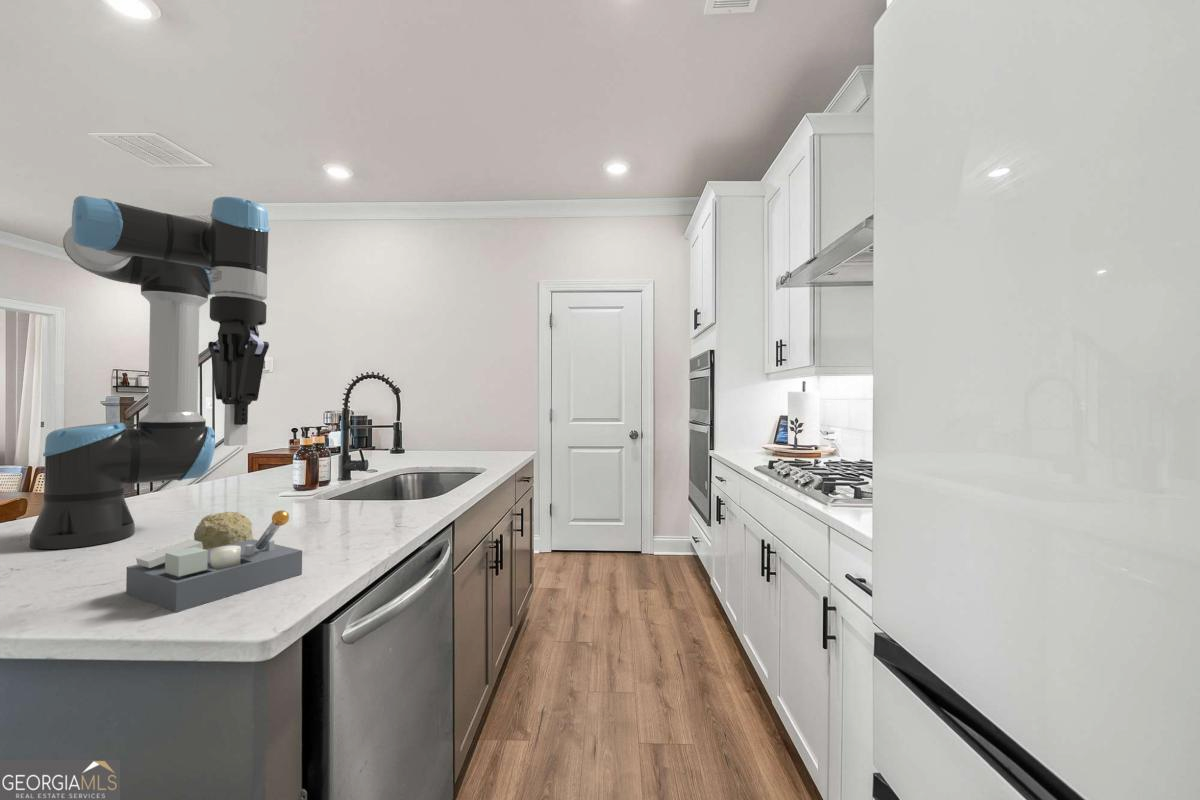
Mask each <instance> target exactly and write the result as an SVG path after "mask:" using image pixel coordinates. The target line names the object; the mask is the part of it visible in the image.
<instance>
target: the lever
mask: <svg viewBox="0 0 1200 800" xmlns="http://www.w3.org/2000/svg"><path fill="white" fill-rule="evenodd" d="M289 520H290V514H289V512H287V511H286V510H278V511H275V512H274V513H273V514H272V515H271V522H270V524H269V526H268V527H267V528H266V529H265V531H264V532H263V533H262V535H261V536H260V537H259V539H257V540H258V542H257V543H256V544H255V547H256V548H257V549H259V550H262V549H264V547H265V546H266V545H267V543H268V542H269V541H270V540H272V538H273V536H274V535H275V533H277V531H278V530H279V529H280V528H281V526H285V525H286V524H287V523H288V522H289Z"/></svg>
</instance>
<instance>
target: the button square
mask: <svg viewBox="0 0 1200 800" xmlns="http://www.w3.org/2000/svg"><path fill="white" fill-rule="evenodd" d="M207 558H208V550H204V549H201V548H197V547H191V548H186V549H182V550H177V551H172V552H168V553H165V573H168V574H172V575H175V576H178V577H179V576H183V575H187V574H191V573H195V572H199V571H203V570H207Z"/></svg>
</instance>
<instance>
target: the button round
mask: <svg viewBox="0 0 1200 800" xmlns="http://www.w3.org/2000/svg"><path fill="white" fill-rule="evenodd" d="M240 561H241V547H240V546H222V547H217V548H214V549H212V550H210V568H212V569H216V570H221V569H225V568H229V567H233V566H236V565H240Z"/></svg>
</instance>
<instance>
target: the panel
mask: <svg viewBox="0 0 1200 800" xmlns="http://www.w3.org/2000/svg"><path fill="white" fill-rule="evenodd" d="M258 540H259V539H254V538H253V539H251V540H247V541H242V542H238V543H233V544H229V545H224V546H240V547H241V561H240V565H236V566H233V567H229V568H225V569H221V570H216V569H212V568H210V550H212V549H214V548H210V549H206V550H208V558H207V570H203V571H199V572H195V573H191V574H187V575H183V576H179V577H178V576H175V575H172V574H168V573H165V563H162V564H159V565H157V566H154V567H151V568H147V567H144V566H141V565H138V564H134V565H129V566H126V575H125V576H126V581H125V582H126V585H125V586H126V587H125V588H126V589H125V590H126V593H125V594H126V595H129V596H131V597H134V598H136V599H139V600H142V601H145V602H148V603H150V604H153V605H155V606H159V607H161V608H164V609H165V610H169V611H172V612H174V613H178V612H181V611H184V610H185V611H186V610H188V609H192V608H194V607H199V606H202V605H205V604H208V603H211V602H214V601H218V600H222V599H225V598H228V597H231V596H235V595H238V594H241V593H244V592H247V591H251V590H254V589H257V588H260V587H264V586H267V585H271V584H273V583H277V582H281V581H284V580H287V579H292V578H294V577H298V576H301V575H303V549H299V548H293V547H288V546H286V545H285V546H284V545H280V544H275V540H274V539H273V540H272V539H270V541H269V542H268V543H267V545H266V546H265V547H264V549H262V550H259V549H257V548H256V547H255V544H256V543H257V542H258ZM219 547H222V546H219ZM215 548H217V547H215ZM160 549H161V548H159V549H155V551H157V550H160Z"/></svg>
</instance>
